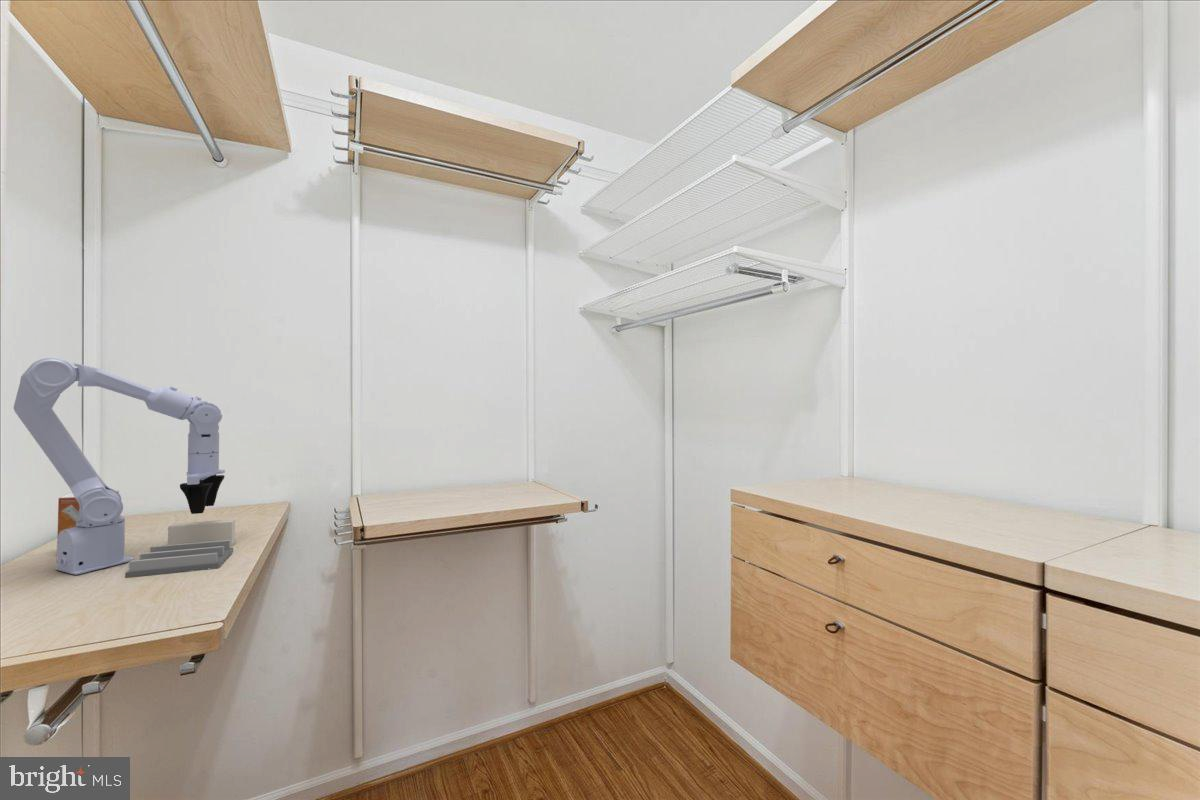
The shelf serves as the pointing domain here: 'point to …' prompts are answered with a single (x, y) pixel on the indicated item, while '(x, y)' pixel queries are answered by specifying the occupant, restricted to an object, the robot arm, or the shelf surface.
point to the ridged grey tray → (180, 558)
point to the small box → (68, 512)
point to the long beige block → (201, 532)
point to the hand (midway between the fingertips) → (203, 509)
